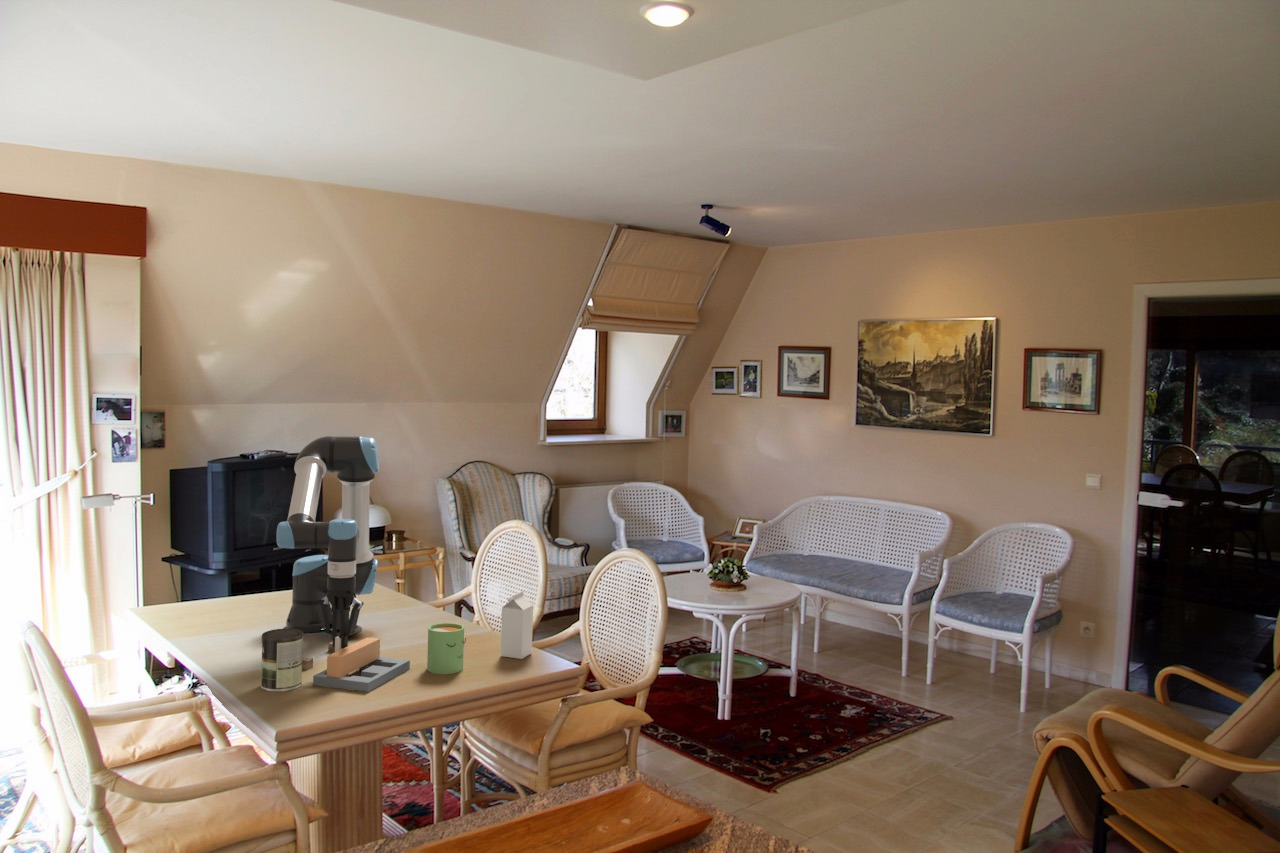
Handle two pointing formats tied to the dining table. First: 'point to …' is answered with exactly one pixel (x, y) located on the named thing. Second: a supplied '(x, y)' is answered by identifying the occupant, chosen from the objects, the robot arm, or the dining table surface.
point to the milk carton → (517, 627)
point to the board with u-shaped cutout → (366, 675)
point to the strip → (353, 657)
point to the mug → (445, 648)
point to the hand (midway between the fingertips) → (339, 659)
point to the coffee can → (281, 660)
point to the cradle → (308, 662)
